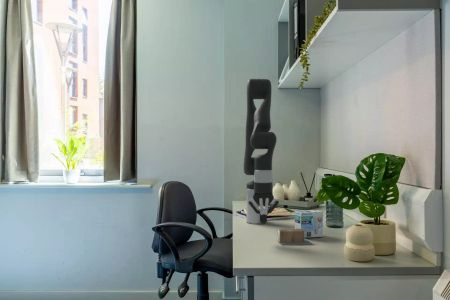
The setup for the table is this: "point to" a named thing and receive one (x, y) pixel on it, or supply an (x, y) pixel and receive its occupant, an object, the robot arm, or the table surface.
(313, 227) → the light bulb box
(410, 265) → the table surface
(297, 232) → the walnut block
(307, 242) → the rubber mat
